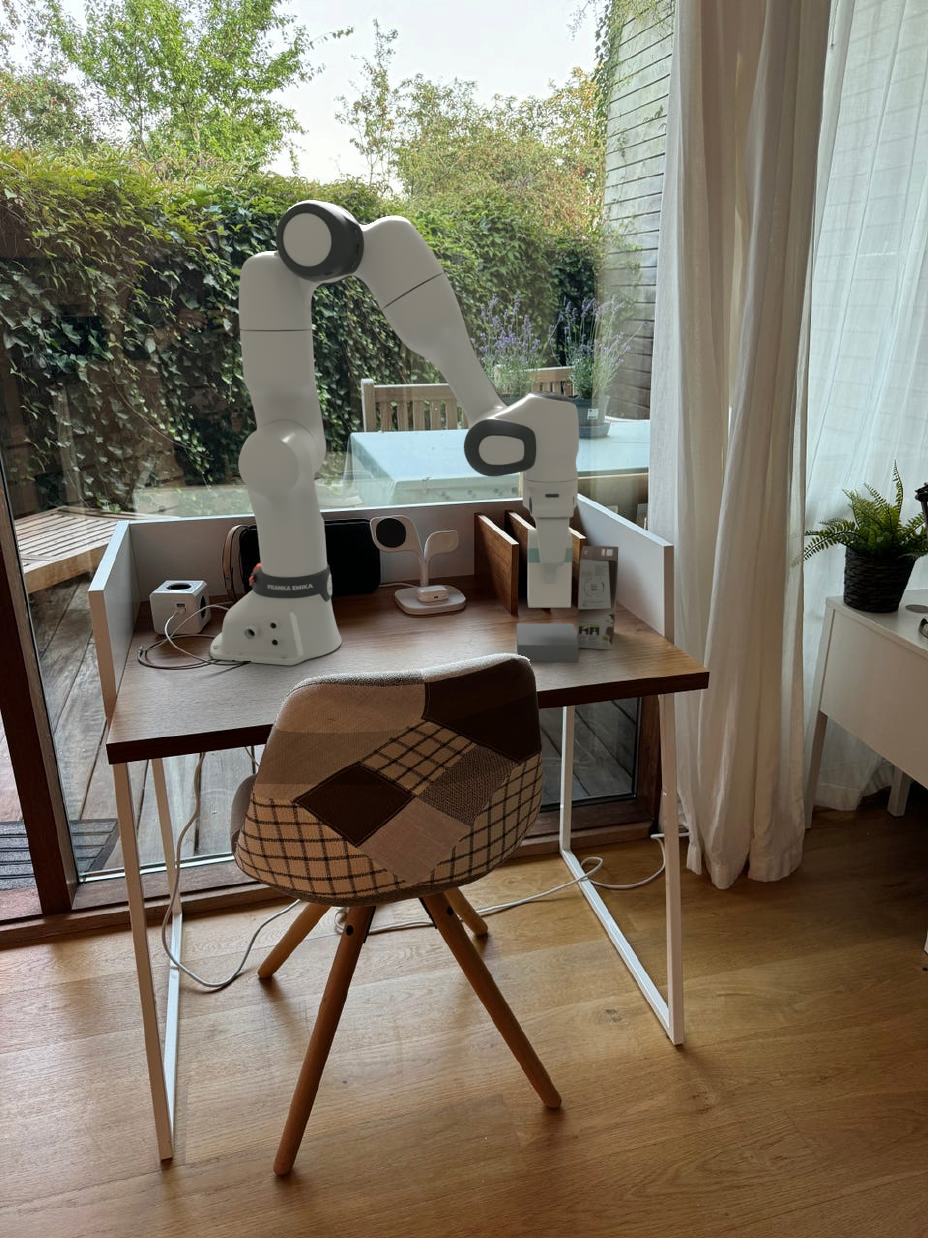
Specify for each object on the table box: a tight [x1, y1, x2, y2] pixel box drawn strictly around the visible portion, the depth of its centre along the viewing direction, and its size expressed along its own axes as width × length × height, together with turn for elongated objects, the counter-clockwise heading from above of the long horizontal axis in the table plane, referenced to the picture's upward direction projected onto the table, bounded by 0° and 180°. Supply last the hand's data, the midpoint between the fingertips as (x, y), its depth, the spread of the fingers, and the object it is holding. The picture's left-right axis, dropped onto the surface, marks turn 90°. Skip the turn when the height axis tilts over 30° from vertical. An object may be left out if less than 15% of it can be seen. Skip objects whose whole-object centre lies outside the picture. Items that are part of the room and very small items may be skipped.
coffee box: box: [576, 545, 619, 651], centre depth 153 cm, size 9×6×16 cm
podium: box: [516, 623, 579, 663], centre depth 151 cm, size 10×10×3 cm
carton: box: [527, 528, 573, 609], centre depth 146 cm, size 7×5×12 cm
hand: (548, 576), depth 146 cm, fingers closed on carton, 5 cm apart
